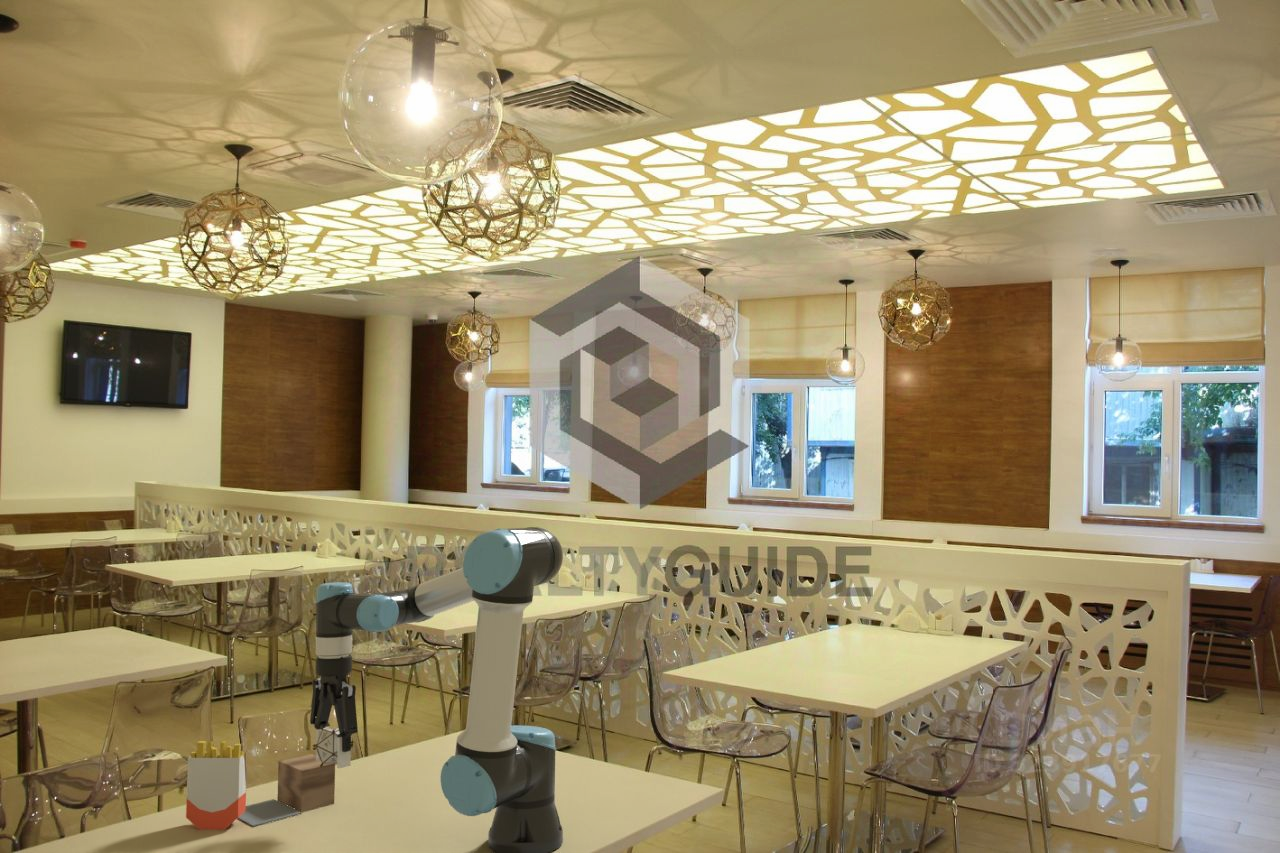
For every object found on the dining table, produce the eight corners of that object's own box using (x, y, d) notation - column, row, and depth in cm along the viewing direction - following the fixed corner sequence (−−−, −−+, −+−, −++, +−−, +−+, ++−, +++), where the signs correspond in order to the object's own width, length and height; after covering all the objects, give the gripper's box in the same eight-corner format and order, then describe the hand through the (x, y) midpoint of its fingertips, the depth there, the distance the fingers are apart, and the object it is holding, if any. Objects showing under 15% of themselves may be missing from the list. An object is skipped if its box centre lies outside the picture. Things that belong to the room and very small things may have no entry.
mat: (301, 813, 214) (301, 812, 214) (253, 826, 206) (253, 825, 206) (273, 800, 223) (273, 799, 223) (225, 812, 214) (225, 810, 214)
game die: (337, 784, 206) (338, 753, 201) (303, 767, 208) (303, 736, 203) (361, 753, 213) (363, 723, 208) (328, 738, 215) (329, 707, 210)
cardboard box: (334, 803, 221) (335, 763, 221) (301, 812, 215) (302, 771, 215) (309, 792, 228) (310, 753, 229) (277, 800, 222) (278, 760, 223)
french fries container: (195, 821, 209) (197, 736, 210) (245, 821, 209) (248, 736, 210) (185, 829, 204) (188, 742, 205) (237, 829, 204) (239, 742, 205)
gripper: (375, 658, 205) (375, 768, 204) (325, 647, 219) (324, 750, 218) (343, 663, 199) (342, 776, 198) (293, 652, 213) (292, 757, 212)
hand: (333, 762), depth 208 cm, fingers closed on game die, 8 cm apart
